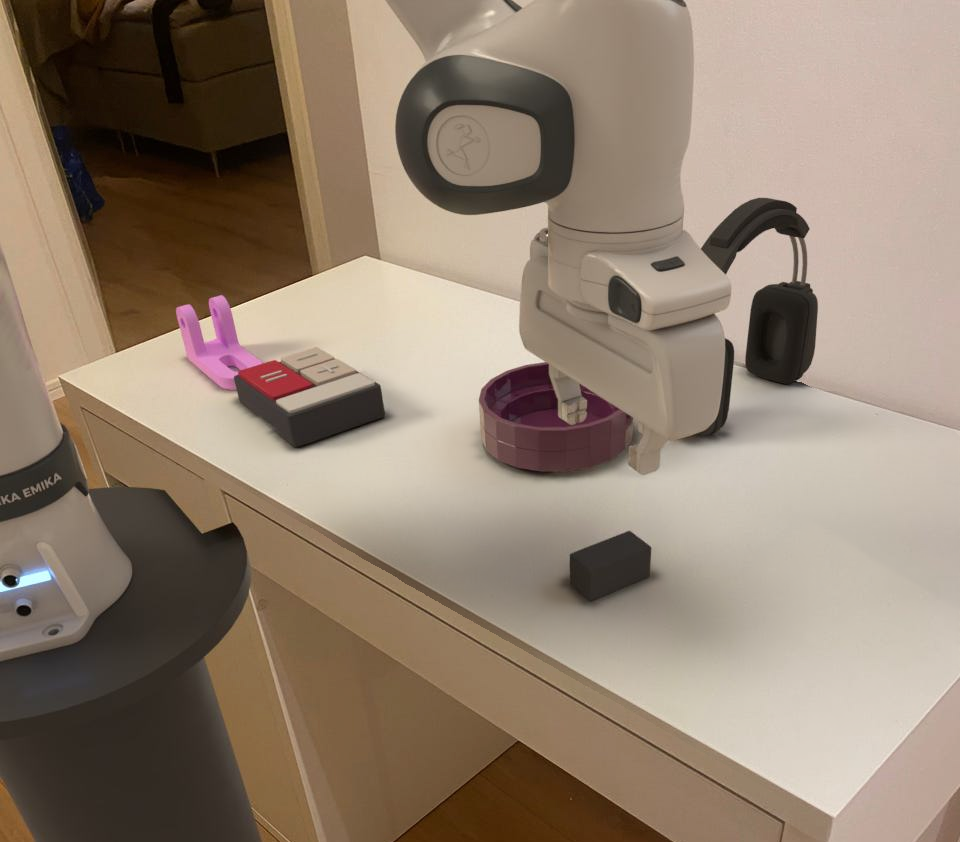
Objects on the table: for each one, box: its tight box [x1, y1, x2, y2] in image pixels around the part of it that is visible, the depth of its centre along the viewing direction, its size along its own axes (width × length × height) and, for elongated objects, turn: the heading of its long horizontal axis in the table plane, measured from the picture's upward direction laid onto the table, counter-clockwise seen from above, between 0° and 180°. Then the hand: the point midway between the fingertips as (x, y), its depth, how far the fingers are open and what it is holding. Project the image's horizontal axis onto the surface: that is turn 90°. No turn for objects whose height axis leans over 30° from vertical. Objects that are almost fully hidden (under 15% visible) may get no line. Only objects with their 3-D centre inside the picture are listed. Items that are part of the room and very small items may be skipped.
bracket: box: [175, 294, 263, 391], centre depth 117 cm, size 13×6×7 cm, turn 34°
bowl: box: [478, 361, 634, 472], centre depth 99 cm, size 15×15×5 cm
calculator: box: [234, 346, 386, 448], centre depth 109 cm, size 11×4×15 cm
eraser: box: [569, 530, 652, 602], centre depth 81 cm, size 6×3×3 cm, turn 120°
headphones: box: [692, 197, 819, 438], centre depth 99 cm, size 22×6×20 cm, turn 135°
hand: (606, 443), depth 75 cm, fingers open, 8 cm apart
